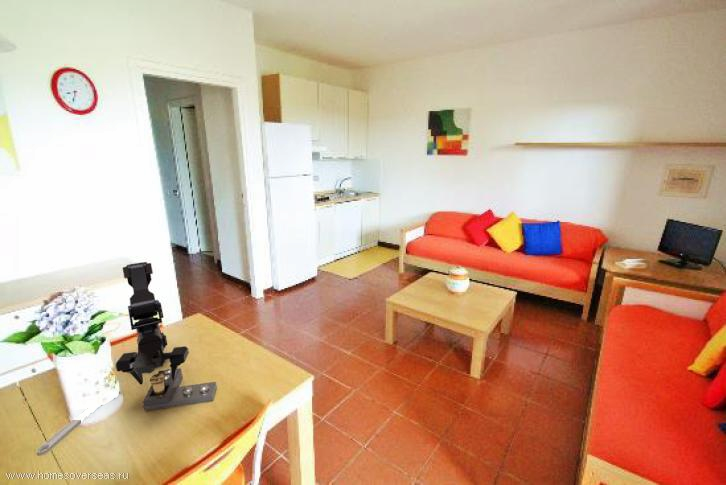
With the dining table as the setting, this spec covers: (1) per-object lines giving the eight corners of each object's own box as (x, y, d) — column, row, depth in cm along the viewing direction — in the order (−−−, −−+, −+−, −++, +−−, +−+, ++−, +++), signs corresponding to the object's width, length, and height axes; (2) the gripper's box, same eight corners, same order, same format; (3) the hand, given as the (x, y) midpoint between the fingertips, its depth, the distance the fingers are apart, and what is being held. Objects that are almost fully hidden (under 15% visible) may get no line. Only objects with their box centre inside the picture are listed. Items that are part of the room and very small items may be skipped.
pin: (156, 398, 112) (152, 374, 109) (170, 396, 113) (166, 372, 110) (152, 406, 108) (147, 382, 106) (166, 404, 109) (161, 380, 107)
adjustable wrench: (44, 457, 91) (42, 452, 91) (25, 453, 92) (23, 448, 92) (124, 392, 115) (123, 388, 114) (107, 390, 116) (106, 386, 115)
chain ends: (159, 381, 120) (157, 369, 119) (220, 373, 124) (218, 361, 123) (143, 412, 106) (140, 399, 105) (212, 401, 110) (210, 389, 109)
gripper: (101, 357, 95) (112, 404, 99) (175, 348, 99) (183, 394, 103) (119, 336, 105) (128, 379, 109) (185, 329, 109) (192, 371, 113)
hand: (157, 381), depth 108 cm, fingers open, 9 cm apart
